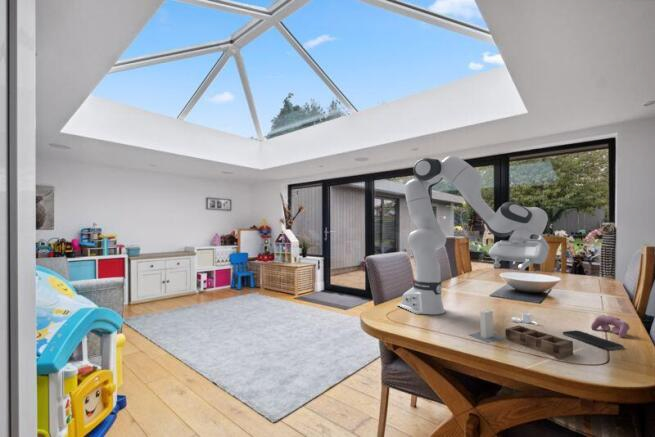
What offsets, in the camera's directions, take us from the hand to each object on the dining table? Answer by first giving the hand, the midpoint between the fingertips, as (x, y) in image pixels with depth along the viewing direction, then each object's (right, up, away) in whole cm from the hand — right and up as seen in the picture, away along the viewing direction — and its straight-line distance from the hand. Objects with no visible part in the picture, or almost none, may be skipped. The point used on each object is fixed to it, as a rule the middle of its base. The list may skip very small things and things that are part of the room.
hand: (507, 268), depth 113 cm
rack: (+1, -24, -14) cm, 28 cm away
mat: (-11, -24, -6) cm, 27 cm away
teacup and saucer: (+13, -25, +13) cm, 31 cm away
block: (-11, -24, -6) cm, 27 cm away
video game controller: (+37, -24, -2) cm, 44 cm away
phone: (+23, -24, -9) cm, 35 cm away
